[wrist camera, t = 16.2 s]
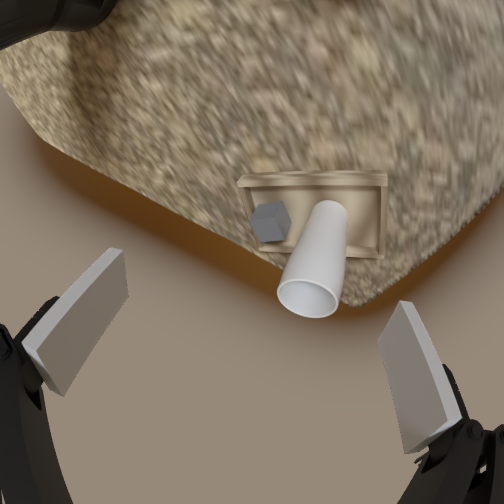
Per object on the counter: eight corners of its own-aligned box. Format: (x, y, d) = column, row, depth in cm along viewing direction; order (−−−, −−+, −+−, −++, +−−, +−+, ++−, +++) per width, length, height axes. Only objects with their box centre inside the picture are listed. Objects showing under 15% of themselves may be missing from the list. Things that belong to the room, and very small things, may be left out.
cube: (268, 225, 43) (260, 242, 41) (258, 204, 41) (248, 220, 39) (291, 222, 41) (284, 239, 39) (282, 200, 39) (274, 217, 37)
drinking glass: (304, 192, 37) (270, 275, 27) (353, 194, 34) (338, 283, 24) (309, 231, 41) (281, 314, 32) (354, 234, 38) (338, 322, 29)
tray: (264, 241, 48) (259, 251, 46) (243, 174, 39) (236, 182, 38) (384, 247, 39) (383, 259, 37) (386, 171, 31) (387, 180, 29)
